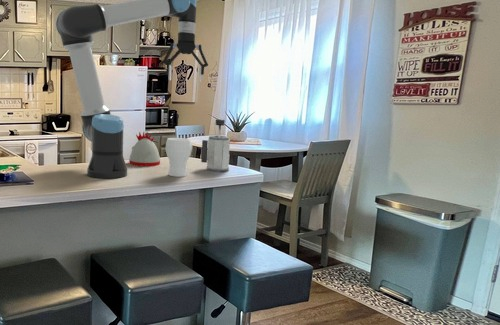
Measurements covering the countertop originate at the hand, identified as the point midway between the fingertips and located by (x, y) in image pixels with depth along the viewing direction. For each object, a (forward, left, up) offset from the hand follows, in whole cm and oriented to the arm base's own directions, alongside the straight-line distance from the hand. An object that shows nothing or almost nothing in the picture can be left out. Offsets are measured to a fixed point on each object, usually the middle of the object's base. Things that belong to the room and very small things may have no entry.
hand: (184, 81), depth 201 cm
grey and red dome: (-17, -1, -39) cm, 43 cm away
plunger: (+17, -6, -35) cm, 39 cm away
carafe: (+16, -6, -39) cm, 42 cm away
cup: (+1, -23, -39) cm, 45 cm away
